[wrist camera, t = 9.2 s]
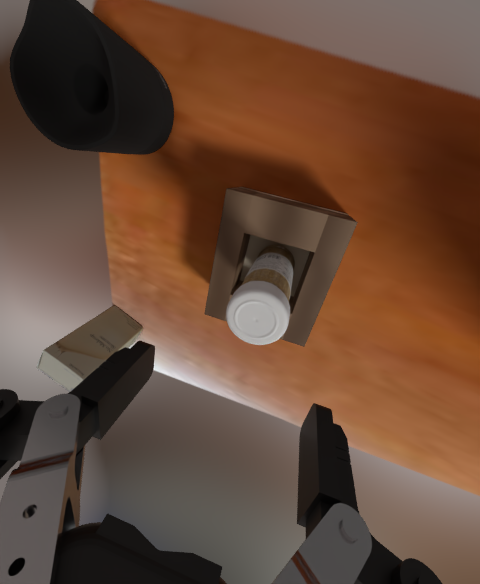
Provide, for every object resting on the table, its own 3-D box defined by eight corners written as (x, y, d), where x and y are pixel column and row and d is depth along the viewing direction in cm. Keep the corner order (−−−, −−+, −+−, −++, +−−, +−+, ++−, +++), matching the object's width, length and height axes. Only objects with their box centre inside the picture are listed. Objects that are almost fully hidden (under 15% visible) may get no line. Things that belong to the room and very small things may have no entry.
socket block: (347, 213, 27) (357, 222, 21) (304, 319, 33) (304, 346, 28) (241, 186, 28) (226, 188, 23) (219, 293, 34) (204, 314, 29)
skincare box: (144, 327, 40) (86, 380, 30) (134, 342, 42) (76, 398, 32) (113, 303, 40) (42, 349, 29) (104, 320, 42) (34, 369, 31)
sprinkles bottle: (254, 276, 30) (221, 338, 19) (260, 240, 28) (227, 283, 17) (290, 284, 30) (281, 354, 18) (300, 247, 28) (295, 299, 16)
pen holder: (183, 158, 28) (127, 148, 19) (112, 159, 30) (32, 150, 21) (174, 50, 24) (99, -23, 16) (93, 59, 26) (-13, -1, 18)
